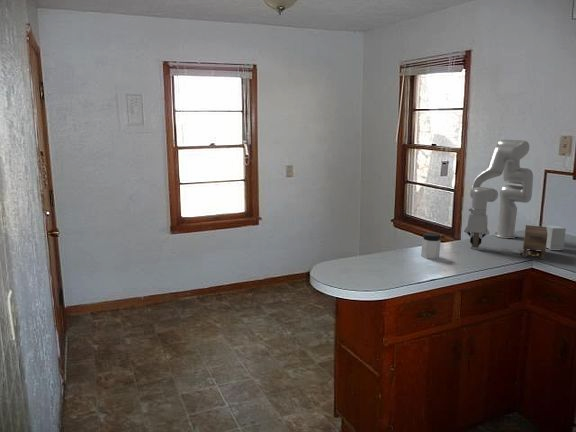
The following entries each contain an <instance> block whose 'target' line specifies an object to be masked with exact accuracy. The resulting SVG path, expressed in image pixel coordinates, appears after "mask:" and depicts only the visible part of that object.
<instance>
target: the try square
mask: <svg viewBox="0 0 576 432" xmlns="http://www.w3.org/2000/svg"><path fill="white" fill-rule="evenodd" d="M479 237H480V233H473V242H472V245H470V249H472V250H479V251H487V252H494V253H495V252H496V253H504V254H509V253H512V254H511V255H517V254H520V255H521V250H517V249H509V248H503V247H502V248H501V247H494V246H493V247H492V246H485V245H479V246H478V242H479Z"/></svg>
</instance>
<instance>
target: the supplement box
mask: <svg viewBox="0 0 576 432" xmlns="http://www.w3.org/2000/svg"><path fill="white" fill-rule="evenodd" d="M545 227H547V233H548V235H547V243H546V247H547V248H549V249H557V250H558V249H560V250H563V251H564V247H565V246H564V245H565V238H566V232H567V231H566V228H565V227H562V226H561V225H545Z"/></svg>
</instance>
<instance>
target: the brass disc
mask: <svg viewBox="0 0 576 432" xmlns="http://www.w3.org/2000/svg"><path fill="white" fill-rule="evenodd" d="M527 255H528V256H529V255H531V256H530V257H533V256H538V257H539V256H540V253H539V252H537V251H528V253H527Z"/></svg>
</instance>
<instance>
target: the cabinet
mask: <svg viewBox="0 0 576 432" xmlns="http://www.w3.org/2000/svg"><path fill="white" fill-rule="evenodd" d="M547 235H548V233H547V227H546V226H539V225H529V224H526V225H525V229H524V238H523V246H522V247H523V248H522V251H523V252H522V257H523V258H527V254H528V253H527V251H528V250H527V249H530V250H541V251H542V252H541V255H540V259H541V260H545V255H546V250H547V249H546V243H547ZM523 249H524V250H523ZM530 250H529V251H530Z"/></svg>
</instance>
